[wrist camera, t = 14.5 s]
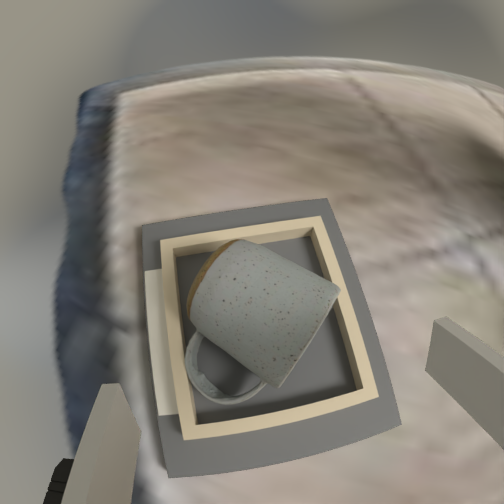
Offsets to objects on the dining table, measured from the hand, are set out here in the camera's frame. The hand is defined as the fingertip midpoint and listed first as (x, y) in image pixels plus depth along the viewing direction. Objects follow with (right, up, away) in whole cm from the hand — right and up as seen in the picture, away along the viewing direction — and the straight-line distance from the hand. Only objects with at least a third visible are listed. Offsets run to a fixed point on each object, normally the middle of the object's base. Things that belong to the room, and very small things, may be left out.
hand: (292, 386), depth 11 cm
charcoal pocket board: (-1, -1, +14) cm, 14 cm away
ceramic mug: (-2, -2, +12) cm, 12 cm away
